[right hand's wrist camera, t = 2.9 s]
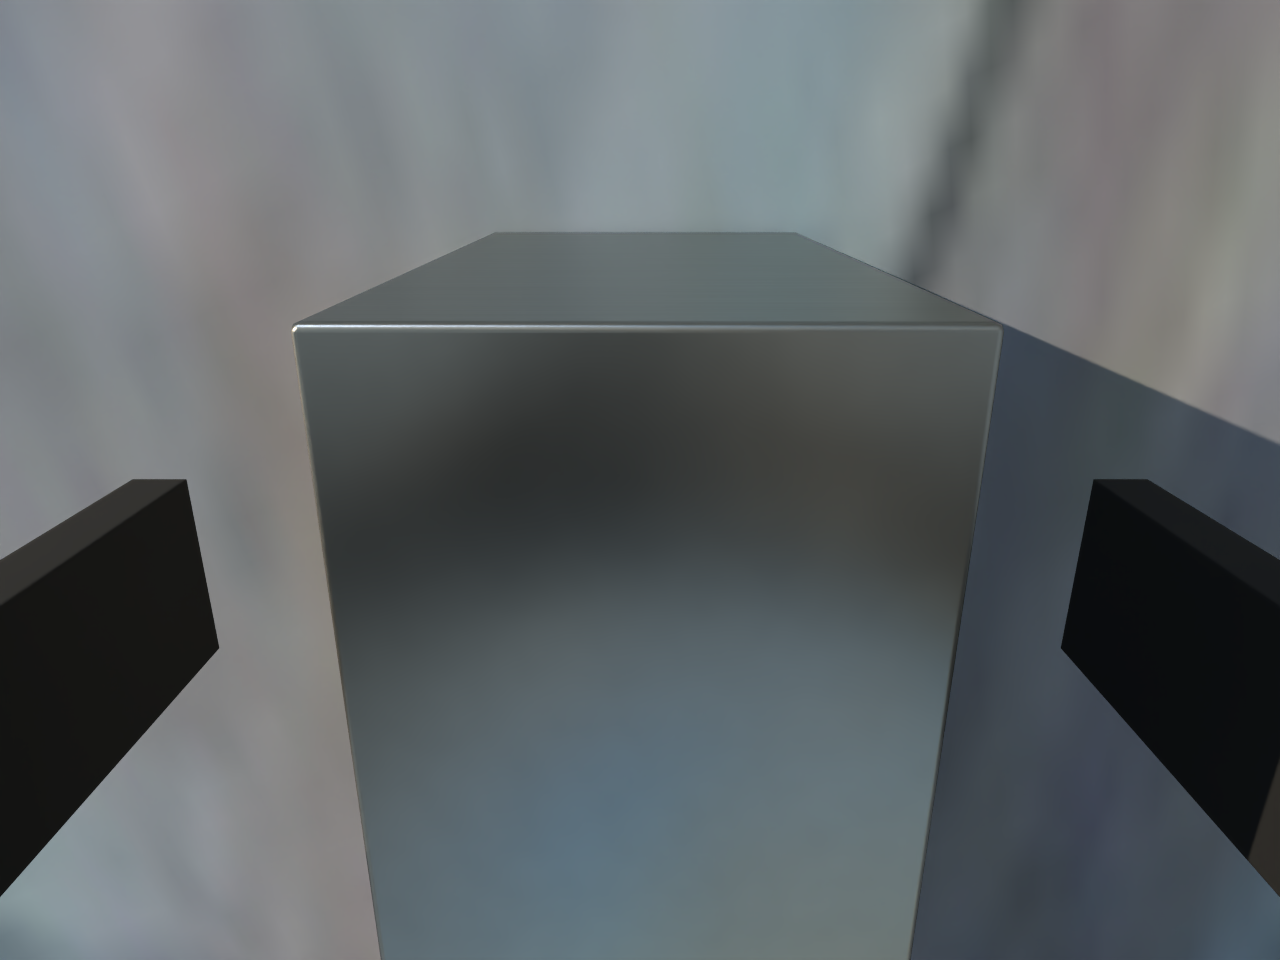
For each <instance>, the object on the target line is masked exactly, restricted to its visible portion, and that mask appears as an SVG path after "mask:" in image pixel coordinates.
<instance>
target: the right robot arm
mask: <svg viewBox="0 0 1280 960" xmlns="http://www.w3.org/2000/svg"><path fill="white" fill-rule="evenodd" d="M218 649H219V644H218V639H217V634H216V629H215V624H214V619H213V614H212V608H211V603H210V598H209V593H208V588H207V583H206V578H205V573H204V567H203V562H202V557H201V552H200V547H199V542H198V537H197V531H196V526H195V521H194V516H193V511H192V506H191V501H190V496H189V490H188V485H187V480H186V479H133V480H131V481H129V482H128V483H126V484H124V485H123V486H121V487H119V488H118V489H116V490H114V491H113V492H111V493H110V494H108V495H106V496H105V497H103V498H101V499H100V500H98V501H96V502H95V503H93V504H92V505H90V506H88V507H87V508H85V509H83V510H82V511H80V512H78V513H77V514H75V515H74V516H72V517H70V518H69V519H67V520H65V521H64V522H62V523H60V524H59V525H57V526H55V527H54V528H52V529H51V530H49V531H47V532H46V533H44V534H42V535H41V536H39V537H37V538H36V539H34V540H33V541H31V542H29V543H28V544H26V545H24V546H23V547H21V548H19V549H18V550H16V551H15V552H13V553H11V554H10V555H8V556H6V557H5V558H3V559H1V560H0V897H1V895H2V894H3V893H4V892H5V891H6V890H7V889H8V887H9V886H10V885H11V884H12V883H13V882H14V881H15V880H16V878H17V877H18V876H19V875H20V874H21V873H22V872H23V870H24V869H25V868H26V867H27V866H28V865H29V864H30V862H31V861H32V860H33V859H34V858H35V857H36V856H37V855H38V853H39V852H40V851H41V850H42V849H43V848H44V847H45V845H46V844H47V843H48V842H49V841H50V840H51V839H52V837H53V836H54V835H55V834H56V833H57V832H58V831H59V830H60V828H61V827H62V826H63V825H64V824H65V823H66V822H67V820H68V819H69V818H70V817H71V816H72V815H73V814H74V812H75V811H76V810H77V809H78V808H79V807H80V806H81V805H82V803H83V802H84V801H85V800H86V799H87V798H88V797H89V795H90V794H91V793H92V792H93V791H94V790H95V789H96V787H97V786H98V785H99V784H100V783H101V782H102V781H103V780H104V778H105V777H106V776H107V775H108V774H109V773H110V772H111V770H112V769H113V768H114V767H115V766H116V765H117V764H118V762H119V761H120V760H121V759H122V758H123V757H124V756H125V755H126V753H127V752H128V751H129V750H130V749H131V748H132V747H133V745H134V744H135V743H136V742H137V741H138V740H139V739H140V737H141V736H142V735H143V734H144V733H145V732H146V731H147V730H148V728H149V727H150V726H151V725H152V724H153V723H154V722H155V720H156V719H157V718H158V717H159V716H160V715H161V714H162V712H163V711H164V710H165V709H166V708H167V707H168V706H169V705H170V703H171V702H172V701H173V700H174V699H175V698H176V697H177V695H178V694H179V693H180V692H181V691H182V690H183V689H184V687H185V686H186V685H187V684H188V683H189V682H190V681H191V680H192V678H193V677H194V676H195V675H196V674H197V673H198V672H199V670H200V669H201V668H202V667H203V666H204V665H205V664H206V662H207V661H208V660H209V659H210V658H211V657H212V656H213V655H214V653H215V652H216V651H217V650H218ZM1061 649H1062V650H1063V651H1064V652H1065V653H1066V654H1067V656H1068V657H1069V658H1070V659H1071V660H1072V661H1073V662H1074V664H1075V665H1076V666H1077V667H1078V668H1079V669H1080V670H1081V672H1082V673H1083V674H1084V675H1085V676H1086V677H1087V678H1088V679H1089V681H1090V682H1091V683H1092V684H1093V685H1094V686H1095V687H1096V689H1097V690H1098V691H1099V692H1100V693H1101V694H1102V695H1103V697H1104V698H1105V699H1106V700H1107V701H1108V702H1109V703H1110V704H1111V706H1112V707H1113V708H1114V709H1115V710H1116V711H1117V712H1118V714H1119V715H1120V716H1121V717H1122V718H1123V719H1124V720H1125V722H1126V723H1127V724H1128V725H1129V726H1130V727H1131V728H1132V729H1133V731H1134V732H1135V733H1136V734H1137V735H1138V736H1139V737H1140V739H1141V740H1142V741H1143V742H1144V743H1145V744H1146V745H1147V747H1148V748H1149V749H1150V750H1151V751H1152V752H1153V753H1154V754H1155V756H1156V757H1157V758H1158V759H1159V760H1160V761H1161V762H1162V764H1163V765H1164V766H1165V767H1166V768H1167V769H1168V770H1169V772H1170V773H1171V774H1172V775H1173V776H1174V777H1175V778H1176V779H1177V781H1178V782H1179V783H1180V784H1181V785H1182V786H1183V787H1184V789H1185V790H1186V791H1187V792H1188V793H1189V794H1190V795H1191V797H1192V798H1193V799H1194V800H1195V801H1196V802H1197V803H1198V804H1199V806H1200V807H1201V808H1202V809H1203V810H1204V811H1205V812H1206V814H1207V815H1208V816H1209V817H1210V818H1211V819H1212V820H1213V822H1214V823H1215V824H1216V825H1217V826H1218V827H1219V828H1220V829H1221V831H1222V832H1223V833H1224V834H1225V835H1226V836H1227V837H1228V839H1229V840H1230V841H1231V842H1232V843H1233V844H1234V845H1235V847H1236V848H1237V849H1238V850H1239V851H1240V852H1241V853H1242V854H1243V856H1244V857H1245V858H1246V859H1247V860H1248V861H1249V862H1250V864H1251V865H1252V866H1253V867H1254V868H1255V869H1256V870H1257V872H1258V873H1259V874H1260V875H1261V876H1262V877H1263V878H1264V879H1265V881H1266V882H1267V883H1268V884H1269V885H1270V886H1271V887H1272V889H1273V890H1274V891H1275V892H1276V893H1277V894H1278V895H1279V897H1280V560H1279V559H1277V558H1275V557H1274V556H1272V555H1270V554H1269V553H1267V552H1266V551H1264V550H1262V549H1261V548H1259V547H1257V546H1256V545H1254V544H1252V543H1251V542H1249V541H1247V540H1246V539H1244V538H1243V537H1241V536H1239V535H1238V534H1236V533H1234V532H1233V531H1231V530H1229V529H1228V528H1226V527H1225V526H1223V525H1221V524H1220V523H1218V522H1216V521H1215V520H1213V519H1211V518H1210V517H1208V516H1207V515H1205V514H1203V513H1202V512H1200V511H1198V510H1197V509H1195V508H1193V507H1192V506H1190V505H1188V504H1187V503H1185V502H1184V501H1182V500H1180V499H1179V498H1177V497H1175V496H1174V495H1172V494H1170V493H1169V492H1167V491H1166V490H1164V489H1162V488H1161V487H1159V486H1157V485H1156V484H1154V483H1152V482H1151V481H1149V480H1148V479H1094V480H1093V486H1092V491H1091V496H1090V501H1089V506H1088V511H1087V516H1086V521H1085V527H1084V532H1083V537H1082V542H1081V547H1080V552H1079V557H1078V562H1077V568H1076V573H1075V578H1074V583H1073V588H1072V593H1071V598H1070V604H1069V609H1068V614H1067V619H1066V624H1065V629H1064V634H1063V639H1062V645H1061Z"/></svg>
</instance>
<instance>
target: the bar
mask: <svg viewBox="0 0 1280 960" xmlns="http://www.w3.org/2000/svg"><path fill="white" fill-rule="evenodd" d="M291 333H292V340H293V347H294V354H295V361H296V368H297V375H298V382H299V389H300V396H301V403H302V410H303V417H304V424H305V431H306V438H307V445H308V452H309V459H310V466H311V473H312V480H313V487H314V494H315V501H316V508H317V515H318V522H319V529H320V536H321V543H322V550H323V557H324V564H325V571H326V578H327V585H328V592H329V599H330V606H331V613H332V620H333V627H334V634H335V641H336V648H337V655H338V662H339V669H340V676H341V683H342V690H343V697H344V704H345V711H346V718H347V725H348V732H349V739H350V746H351V753H352V760H353V767H354V774H355V781H356V788H357V795H358V802H359V809H360V816H361V823H362V830H363V837H364V844H365V851H366V858H367V865H368V872H369V879H370V886H371V893H372V900H373V907H374V914H375V921H376V928H377V935H378V942H379V949H380V956H381V960H910V958H911V952H912V945H913V938H914V932H915V925H916V918H917V911H918V905H919V898H920V891H921V885H922V878H923V871H924V864H925V858H926V851H927V844H928V838H929V831H930V824H931V817H932V811H933V804H934V797H935V791H936V784H937V777H938V770H939V764H940V757H941V750H942V744H943V737H944V730H945V724H946V717H947V710H948V703H949V697H950V690H951V683H952V677H953V670H954V663H955V656H956V650H957V643H958V636H959V630H960V623H961V616H962V609H963V603H964V596H965V589H966V583H967V576H968V569H969V562H970V556H971V549H972V542H973V536H974V529H975V522H976V516H977V509H978V502H979V495H980V489H981V482H982V475H983V469H984V462H985V455H986V448H987V442H988V435H989V428H990V422H991V415H992V408H993V401H994V395H995V388H996V381H997V375H998V368H999V361H1000V354H1001V348H1002V341H1003V334H1004V330H1003V326H1002V324H999V323H997V322H995V321H993V320H990V319H988V318H986V317H984V316H982V315H979V314H977V313H975V312H973V311H970V310H968V309H966V308H964V307H961V306H959V305H957V304H955V303H952V302H950V301H948V300H946V299H943V298H941V297H939V296H937V295H934V294H932V293H930V292H928V291H925V290H923V289H921V288H919V287H917V286H914V285H912V284H910V283H908V282H905V281H903V280H901V279H899V278H896V277H894V276H892V275H890V274H887V273H885V272H883V271H881V270H878V269H876V268H874V267H872V266H869V265H867V264H865V263H863V262H860V261H858V260H856V259H854V258H852V257H849V256H847V255H845V254H843V253H840V252H838V251H836V250H834V249H831V248H829V247H827V246H825V245H822V244H820V243H818V242H816V241H813V240H811V239H809V238H807V237H804V236H802V235H800V234H798V233H493V234H491V235H489V236H486V237H484V238H482V239H480V240H478V241H475V242H473V243H471V244H469V245H466V246H464V247H462V248H460V249H458V250H455V251H453V252H451V253H449V254H447V255H444V256H442V257H440V258H438V259H436V260H433V261H431V262H429V263H427V264H425V265H422V266H420V267H418V268H416V269H414V270H411V271H409V272H407V273H405V274H403V275H400V276H398V277H396V278H394V279H391V280H389V281H387V282H385V283H383V284H380V285H378V286H376V287H374V288H372V289H369V290H367V291H365V292H363V293H361V294H358V295H356V296H354V297H352V298H350V299H347V300H345V301H343V302H341V303H339V304H336V305H334V306H332V307H330V308H328V309H325V310H323V311H321V312H319V313H317V314H314V315H312V316H310V317H308V318H305V319H303V320H301V321H299V322H297V323H294V324H293V326H292V330H291Z"/></svg>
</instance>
